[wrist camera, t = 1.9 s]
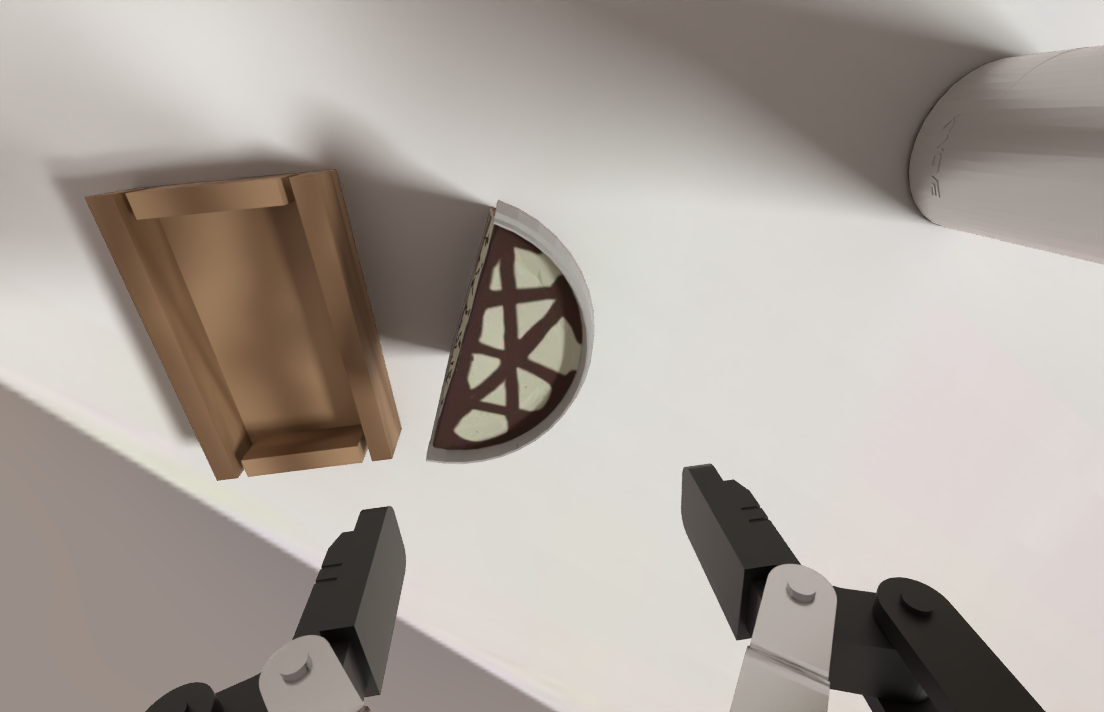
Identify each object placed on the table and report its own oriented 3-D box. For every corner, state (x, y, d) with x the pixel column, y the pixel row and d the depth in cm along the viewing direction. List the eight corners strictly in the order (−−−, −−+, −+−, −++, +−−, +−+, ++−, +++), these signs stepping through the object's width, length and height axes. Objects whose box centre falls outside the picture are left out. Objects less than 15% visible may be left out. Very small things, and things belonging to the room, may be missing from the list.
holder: (335, 169, 26) (314, 175, 23) (401, 428, 33) (392, 458, 30) (132, 188, 26) (84, 197, 23) (242, 448, 33) (217, 480, 30)
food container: (535, 395, 33) (548, 496, 24) (444, 372, 32) (422, 470, 23) (601, 215, 29) (648, 256, 20) (498, 179, 27) (498, 207, 18)
